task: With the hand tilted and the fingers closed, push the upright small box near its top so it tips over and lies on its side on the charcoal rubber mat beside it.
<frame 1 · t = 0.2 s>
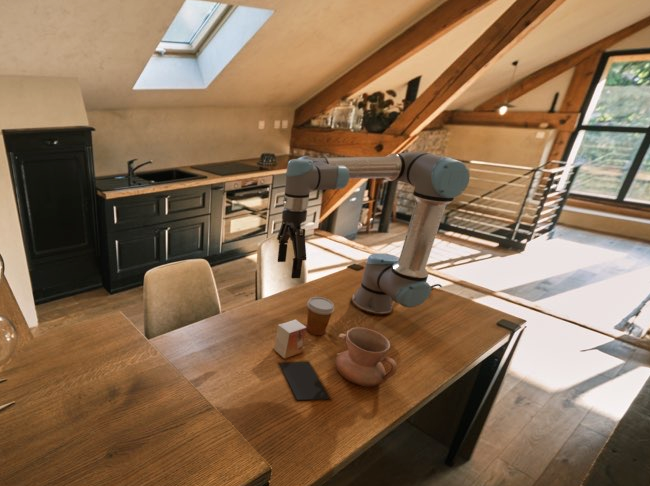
hand: (288, 269, 130), 27 cm above the table, tool pointing down, fingers open, 13 cm apart
small box: (287, 351, 132), on the table
mat: (303, 380, 119), on the table
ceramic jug: (359, 376, 122), on the table
disposable coffee cup: (315, 330, 144), on the table
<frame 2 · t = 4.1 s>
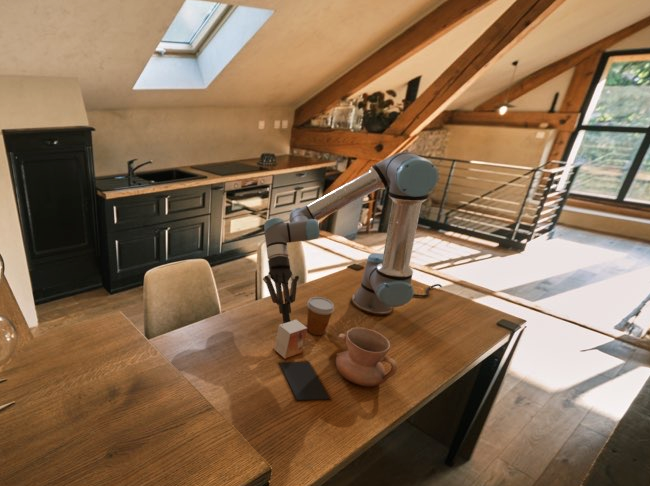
hand: (286, 322, 132), 9 cm above the table, tool tilted 45°, fingers closed
nothing on the table moved.
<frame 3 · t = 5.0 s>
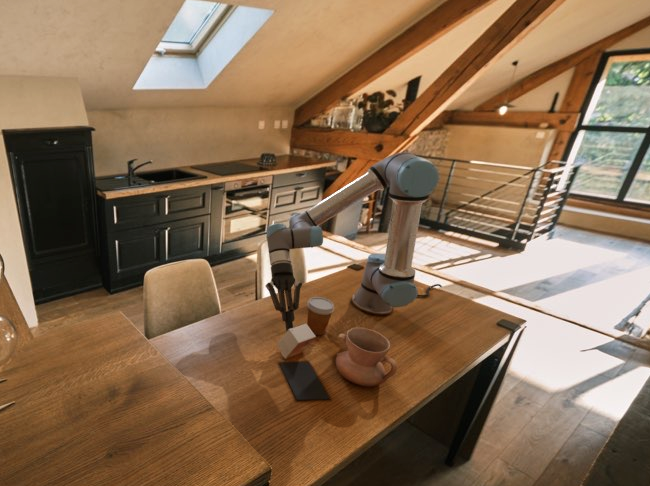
hand: (289, 330, 129), 8 cm above the table, tool tilted 45°, fingers closed
small box: (288, 349, 131), point 1 cm above the table, touching gripper
everything else where it was.
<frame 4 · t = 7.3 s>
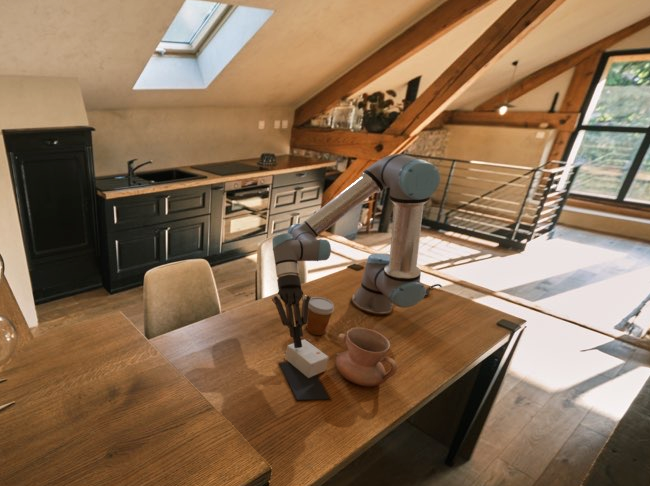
hand: (298, 347, 123), 7 cm above the table, tool tilted 45°, fingers closed
small box: (294, 348, 129), point 3 cm above the table, touching gripper, mat
everything else where it was.
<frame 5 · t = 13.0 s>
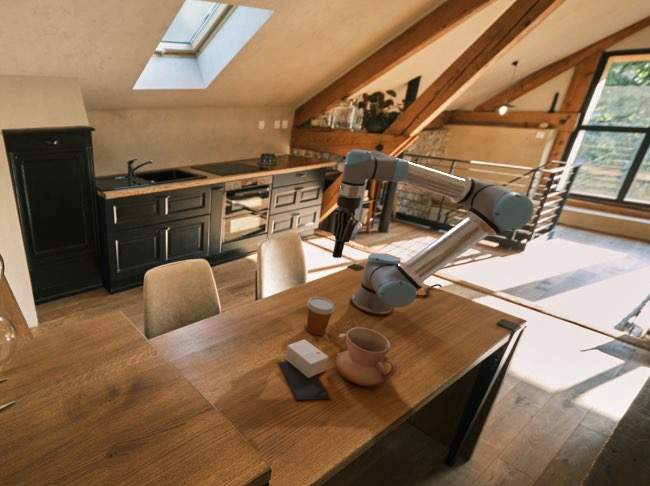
hand: (336, 256, 142), 26 cm above the table, tool pointing down, fingers closed
small box: (294, 348, 129), point 3 cm above the table, touching mat
everything else where it was.
at the end: small box tilted 90°; small box touching mat; small box point 3.1 cm above the table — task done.
